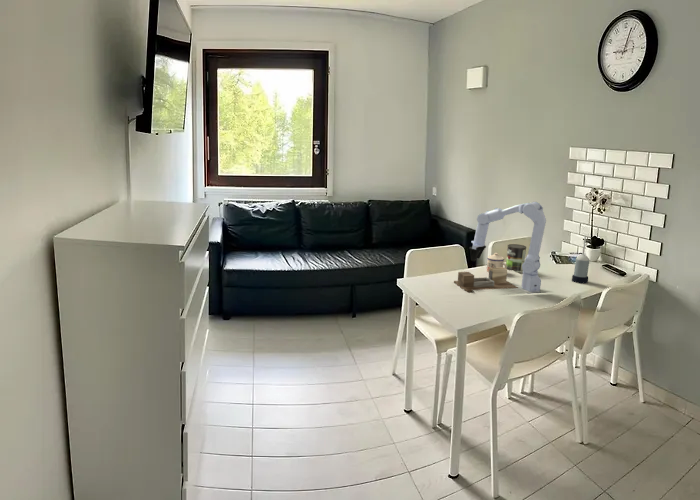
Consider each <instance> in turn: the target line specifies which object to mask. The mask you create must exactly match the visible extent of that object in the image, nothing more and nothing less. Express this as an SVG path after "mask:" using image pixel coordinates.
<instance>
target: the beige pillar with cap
mask: <svg viewBox="0 0 700 500" xmlns="http://www.w3.org/2000/svg"><path fill="white" fill-rule="evenodd" d="M488 278H489V279H491V280H492V281H494V283H503V282H506V281H507V278H508V271H507V269H506V268H505V266H503V267H500V268H490V269H489V273H488Z"/></svg>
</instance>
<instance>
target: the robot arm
mask: <svg viewBox="0 0 700 500" xmlns="http://www.w3.org/2000/svg"><path fill="white" fill-rule="evenodd" d="M516 213H520V214H523V215H524V216H526V218H529V219H530V220H531V222H532V223H533V227H532V233H531V236H530V237H531V238H530V244H529V248H528V253H527V255H526V256H525V262H524V263H523V264H522V270H523V272H522V278H521V287H520V288H521V289H523V290H525V291H527V292H528V293H535V294H537V293H538V294H540V293H541V294H542V292H540V291H541V285H542V279H541V278H540V276H539V271H538V270H539V269H540V268H541V262H540V261H541V260H540V259H541V257H540V251H541V247H542V242H543V237H544V233H545V228H546V223H547V218H546V216H545V212H544V207H543V205H541V204H540V203H539V202H537V201H532V202H526V203H520V204H516V205H513V206H510V207H508V208H505V209H503V208H500V207H495V208H494V209H492V210H490V211H489V210H486V211H485V212H482V213H479V214H478V215H477V217H476V221H477V225H476V228H475V234H474V239H473V240H471V244H472V246H469V252H470V261H471V262H476V260H477V259H480V258H481V256H482V254H483V252H484V250H485V249H486V248H487V245H485V244H486V240H487V239H486V238H487V235H488V230H489V225H490V224H491V223H493V222H497V221H501V220H503V219H504V218H505V216H509V215H512V214H516Z"/></svg>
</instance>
